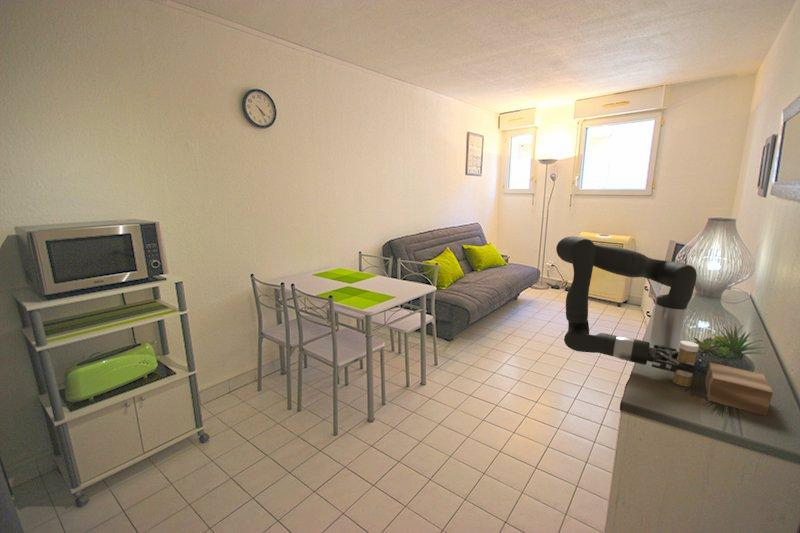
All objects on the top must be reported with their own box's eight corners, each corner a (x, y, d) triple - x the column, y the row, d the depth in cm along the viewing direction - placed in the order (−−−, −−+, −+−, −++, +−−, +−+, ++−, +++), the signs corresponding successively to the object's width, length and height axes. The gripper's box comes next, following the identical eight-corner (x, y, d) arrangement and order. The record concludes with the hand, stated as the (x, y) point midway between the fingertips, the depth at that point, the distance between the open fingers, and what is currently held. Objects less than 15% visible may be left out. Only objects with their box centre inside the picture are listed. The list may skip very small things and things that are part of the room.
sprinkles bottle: (680, 387, 110) (688, 346, 107) (668, 379, 114) (676, 340, 112) (694, 387, 110) (703, 346, 107) (682, 379, 115) (690, 340, 112)
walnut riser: (705, 382, 113) (709, 362, 111) (757, 396, 106) (763, 374, 104) (708, 400, 103) (713, 378, 102) (766, 416, 96) (772, 392, 95)
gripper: (630, 346, 113) (698, 362, 103) (634, 332, 124) (695, 345, 114) (627, 368, 114) (693, 385, 105) (630, 352, 126) (690, 366, 116)
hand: (694, 364), depth 110 cm, fingers open, 7 cm apart
